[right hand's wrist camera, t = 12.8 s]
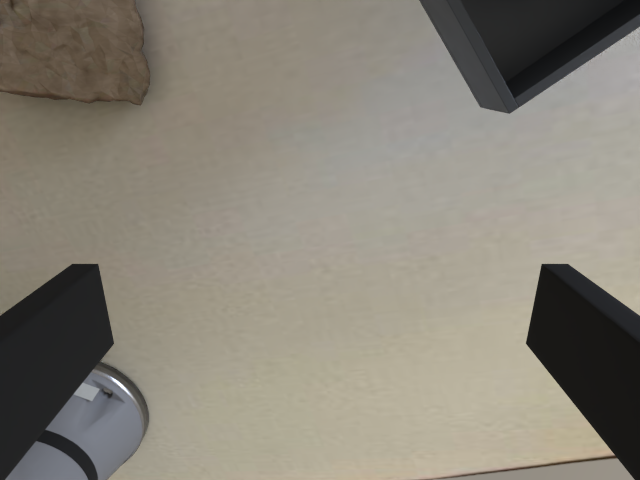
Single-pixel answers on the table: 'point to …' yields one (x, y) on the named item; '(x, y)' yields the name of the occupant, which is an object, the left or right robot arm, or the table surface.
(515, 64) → the grey box
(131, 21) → the stone
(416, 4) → the table surface
